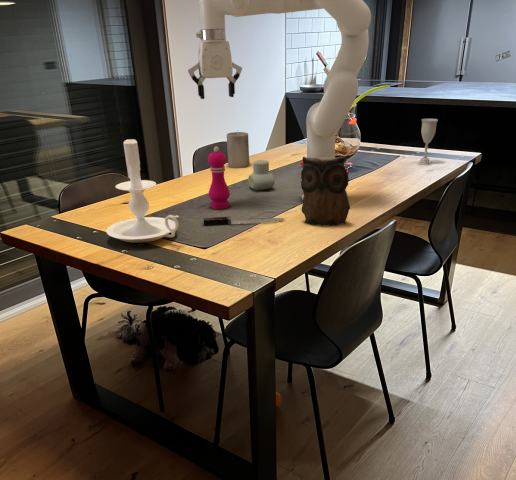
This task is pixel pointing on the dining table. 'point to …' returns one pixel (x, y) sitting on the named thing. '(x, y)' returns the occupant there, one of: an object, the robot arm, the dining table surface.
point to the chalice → (427, 136)
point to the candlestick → (140, 206)
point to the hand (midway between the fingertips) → (216, 97)
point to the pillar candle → (238, 149)
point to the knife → (237, 221)
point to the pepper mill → (218, 180)
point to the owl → (325, 191)
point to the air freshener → (261, 176)
